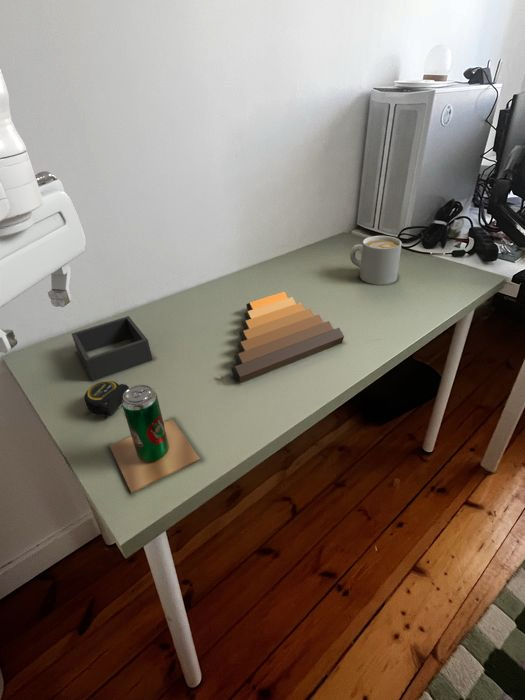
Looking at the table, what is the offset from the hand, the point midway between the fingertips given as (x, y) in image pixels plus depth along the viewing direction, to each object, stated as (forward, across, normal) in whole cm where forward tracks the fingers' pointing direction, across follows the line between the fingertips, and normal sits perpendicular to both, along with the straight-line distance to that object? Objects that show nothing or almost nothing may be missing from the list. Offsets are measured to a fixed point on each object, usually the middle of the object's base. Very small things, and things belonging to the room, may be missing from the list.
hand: (37, 324), depth 46 cm
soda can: (+29, -9, +4) cm, 30 cm away
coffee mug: (+29, -82, +37) cm, 94 cm away
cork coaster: (+29, -9, +4) cm, 31 cm away
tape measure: (+29, -19, -9) cm, 36 cm away
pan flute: (+29, -46, +13) cm, 56 cm away
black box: (+29, -34, -17) cm, 48 cm away
